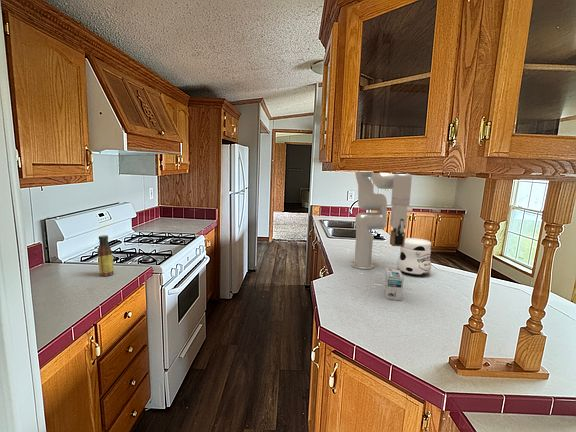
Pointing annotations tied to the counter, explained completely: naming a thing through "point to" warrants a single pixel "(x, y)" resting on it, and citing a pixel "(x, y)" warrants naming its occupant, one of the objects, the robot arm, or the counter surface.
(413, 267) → the milk container
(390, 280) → the light bulb box
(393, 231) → the walnut block
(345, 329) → the counter surface
